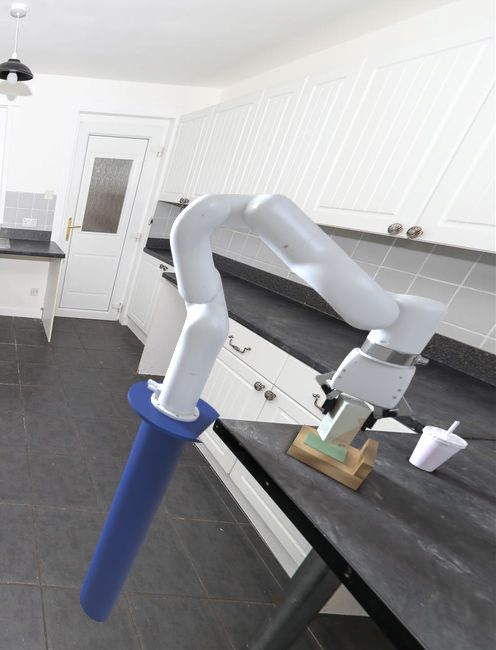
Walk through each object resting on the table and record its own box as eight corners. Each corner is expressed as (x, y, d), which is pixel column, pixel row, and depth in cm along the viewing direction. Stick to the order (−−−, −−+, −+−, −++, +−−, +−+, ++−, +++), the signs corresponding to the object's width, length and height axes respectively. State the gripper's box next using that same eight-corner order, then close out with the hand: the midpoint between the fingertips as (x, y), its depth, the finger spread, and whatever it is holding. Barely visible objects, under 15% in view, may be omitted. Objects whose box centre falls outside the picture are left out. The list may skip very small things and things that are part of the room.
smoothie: (399, 461, 82) (435, 416, 76) (402, 451, 85) (436, 408, 80) (440, 480, 77) (481, 434, 72) (441, 469, 81) (481, 424, 75)
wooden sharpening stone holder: (286, 453, 81) (300, 431, 78) (299, 432, 88) (311, 412, 85) (355, 490, 72) (373, 467, 69) (362, 464, 80) (378, 442, 77)
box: (346, 450, 76) (373, 412, 71) (322, 441, 78) (347, 403, 73) (338, 436, 80) (364, 399, 75) (315, 428, 82) (339, 392, 77)
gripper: (452, 367, 65) (399, 437, 73) (335, 332, 78) (299, 394, 85) (454, 379, 61) (397, 452, 68) (329, 339, 73) (292, 404, 80)
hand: (343, 419), depth 76 cm, fingers closed on box, 5 cm apart
